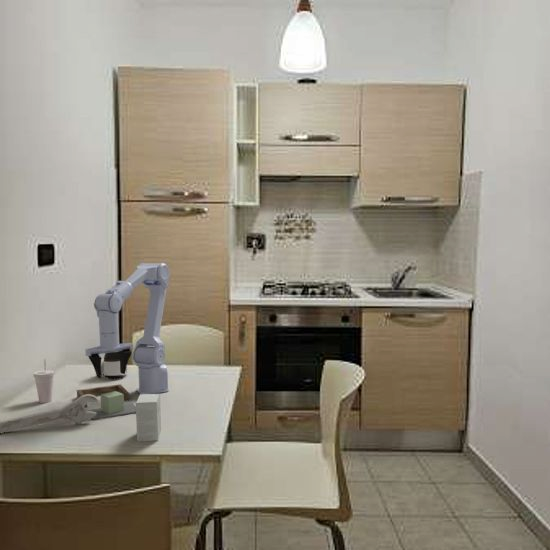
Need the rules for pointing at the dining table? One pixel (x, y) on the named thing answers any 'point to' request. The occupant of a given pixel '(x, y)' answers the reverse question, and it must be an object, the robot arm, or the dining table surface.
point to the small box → (148, 417)
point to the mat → (127, 410)
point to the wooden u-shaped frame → (104, 391)
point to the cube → (112, 402)
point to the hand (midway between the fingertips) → (111, 375)
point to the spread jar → (112, 366)
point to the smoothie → (44, 384)
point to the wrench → (53, 415)
